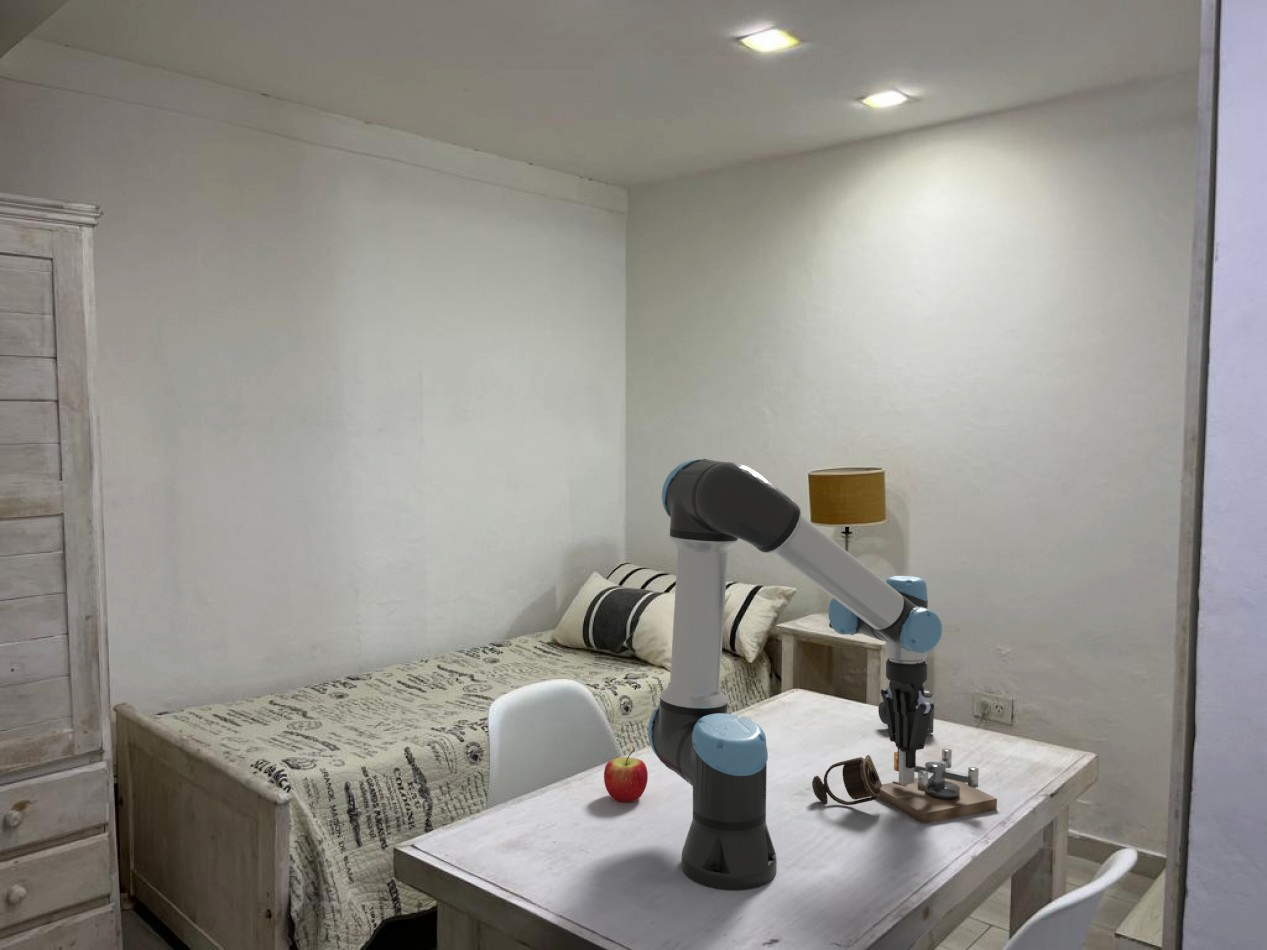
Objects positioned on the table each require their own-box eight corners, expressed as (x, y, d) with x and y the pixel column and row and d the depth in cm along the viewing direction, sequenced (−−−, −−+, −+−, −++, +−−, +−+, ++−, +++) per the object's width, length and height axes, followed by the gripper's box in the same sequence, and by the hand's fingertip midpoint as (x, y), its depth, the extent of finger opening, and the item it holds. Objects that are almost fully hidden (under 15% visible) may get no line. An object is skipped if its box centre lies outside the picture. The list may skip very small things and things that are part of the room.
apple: (639, 811, 178) (639, 758, 178) (596, 805, 181) (596, 752, 181) (653, 794, 186) (653, 743, 186) (612, 789, 189) (612, 738, 188)
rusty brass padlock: (883, 820, 175) (884, 765, 174) (811, 814, 177) (811, 760, 177) (881, 804, 182) (882, 752, 181) (812, 798, 184) (812, 747, 184)
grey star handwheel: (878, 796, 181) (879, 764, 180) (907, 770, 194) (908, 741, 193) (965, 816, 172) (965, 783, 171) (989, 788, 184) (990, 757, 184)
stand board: (923, 824, 173) (923, 811, 173) (873, 795, 186) (873, 783, 186) (996, 809, 180) (997, 797, 179) (943, 782, 193) (944, 770, 192)
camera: (865, 716, 235) (865, 675, 234) (902, 713, 237) (903, 672, 237) (898, 737, 220) (899, 694, 219) (938, 733, 222) (939, 690, 222)
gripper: (945, 664, 178) (945, 791, 179) (901, 650, 190) (901, 769, 191) (912, 668, 175) (912, 797, 176) (869, 654, 187) (869, 775, 188)
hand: (906, 782), depth 183 cm, fingers closed
